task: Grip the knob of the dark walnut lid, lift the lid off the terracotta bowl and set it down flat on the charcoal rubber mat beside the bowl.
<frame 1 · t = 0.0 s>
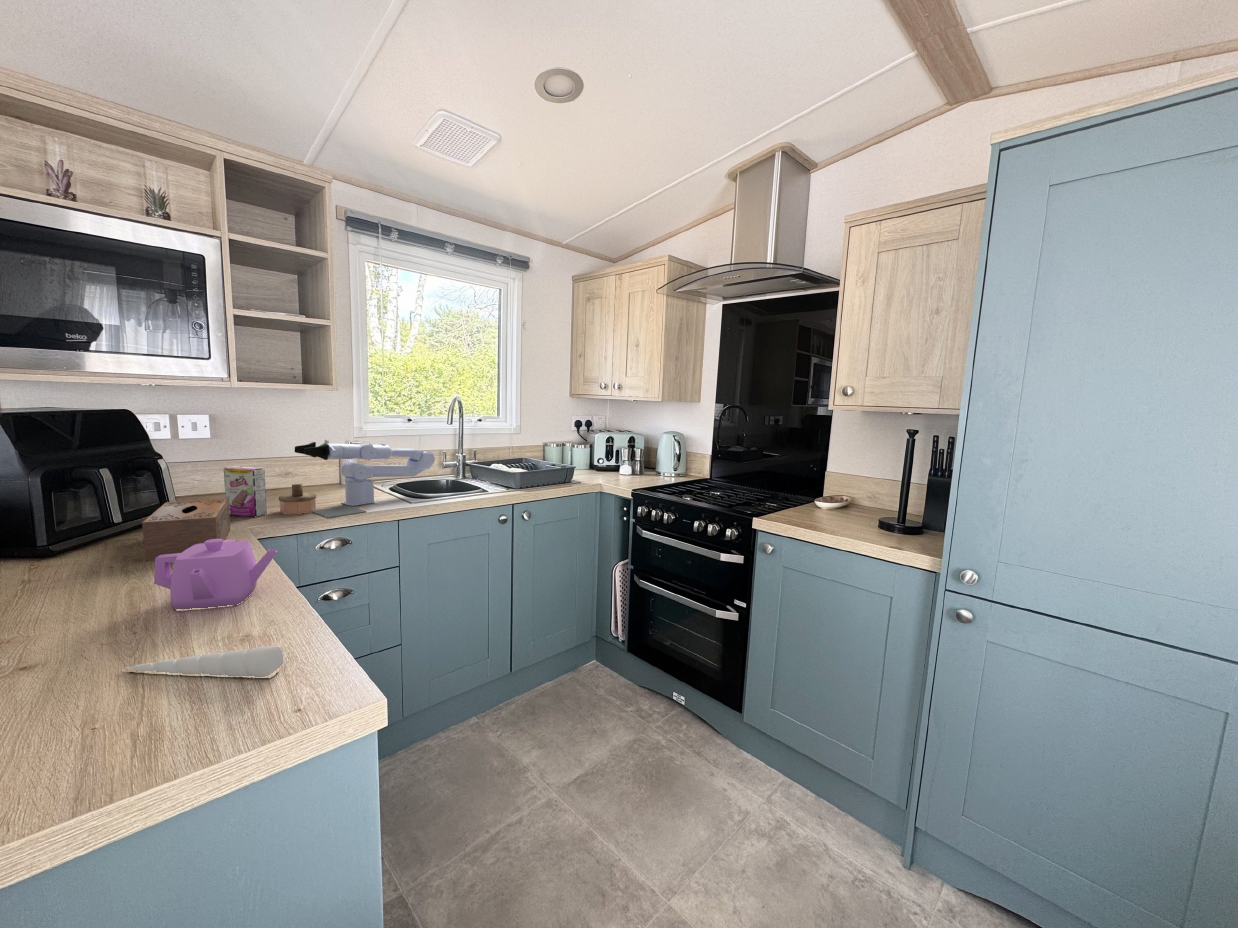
hand: (299, 450, 182), 22 cm above the worktop, tool horizontal, fingers open, 7 cm apart
mat: (339, 512, 185), on the worktop
lid: (297, 498, 184), point 4 cm above the worktop, touching bowl
bowl: (298, 511, 184), on the worktop
unicorn horn: (203, 677, 80), on the worktop
teakettle: (220, 598, 108), on the worktop
tissue box cover: (192, 545, 143), on the worktop
candy bar box: (246, 515, 176), on the worktop
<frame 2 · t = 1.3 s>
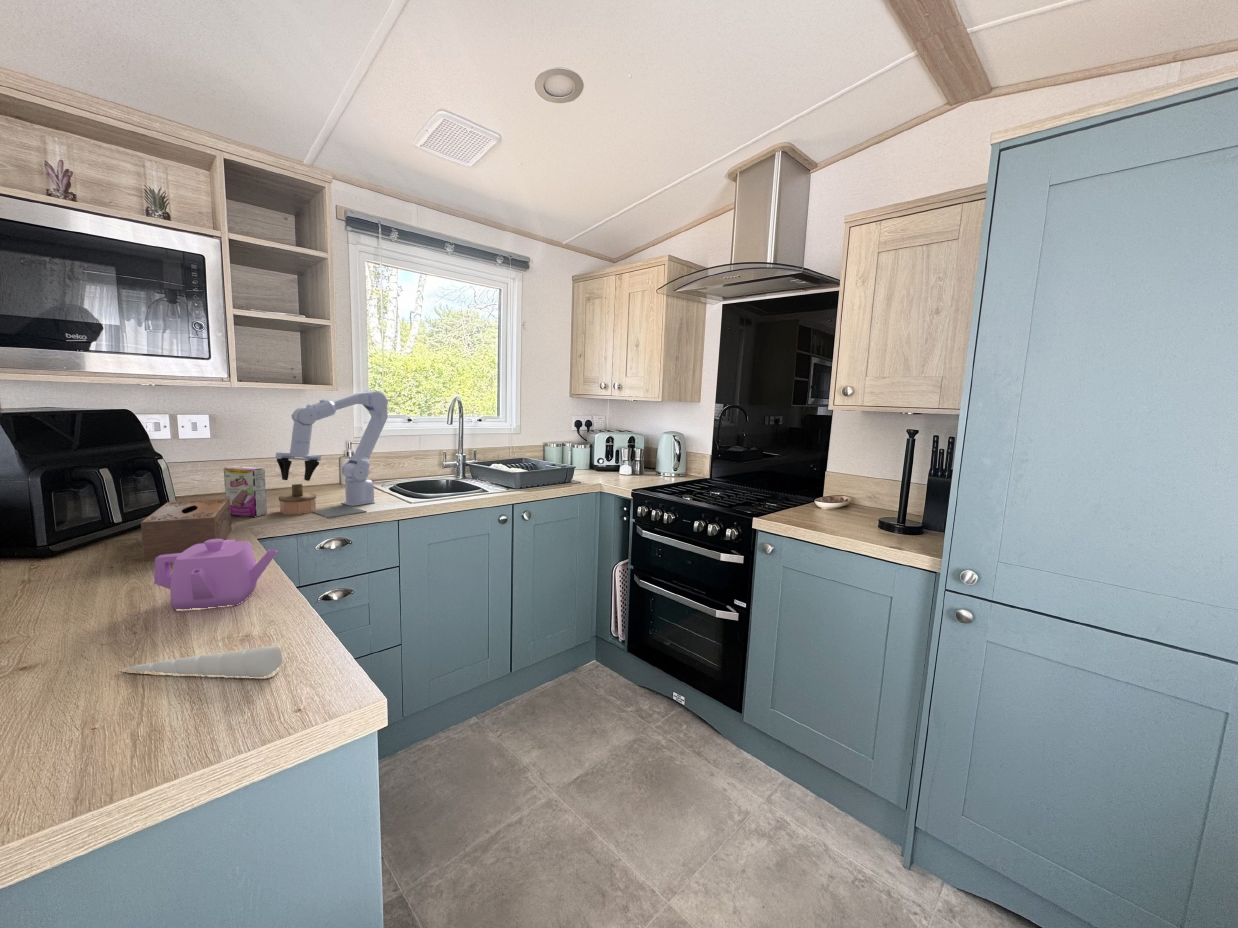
hand: (296, 480, 183), 11 cm above the worktop, tool pointing down, fingers open, 7 cm apart
nothing on the worktop moved.
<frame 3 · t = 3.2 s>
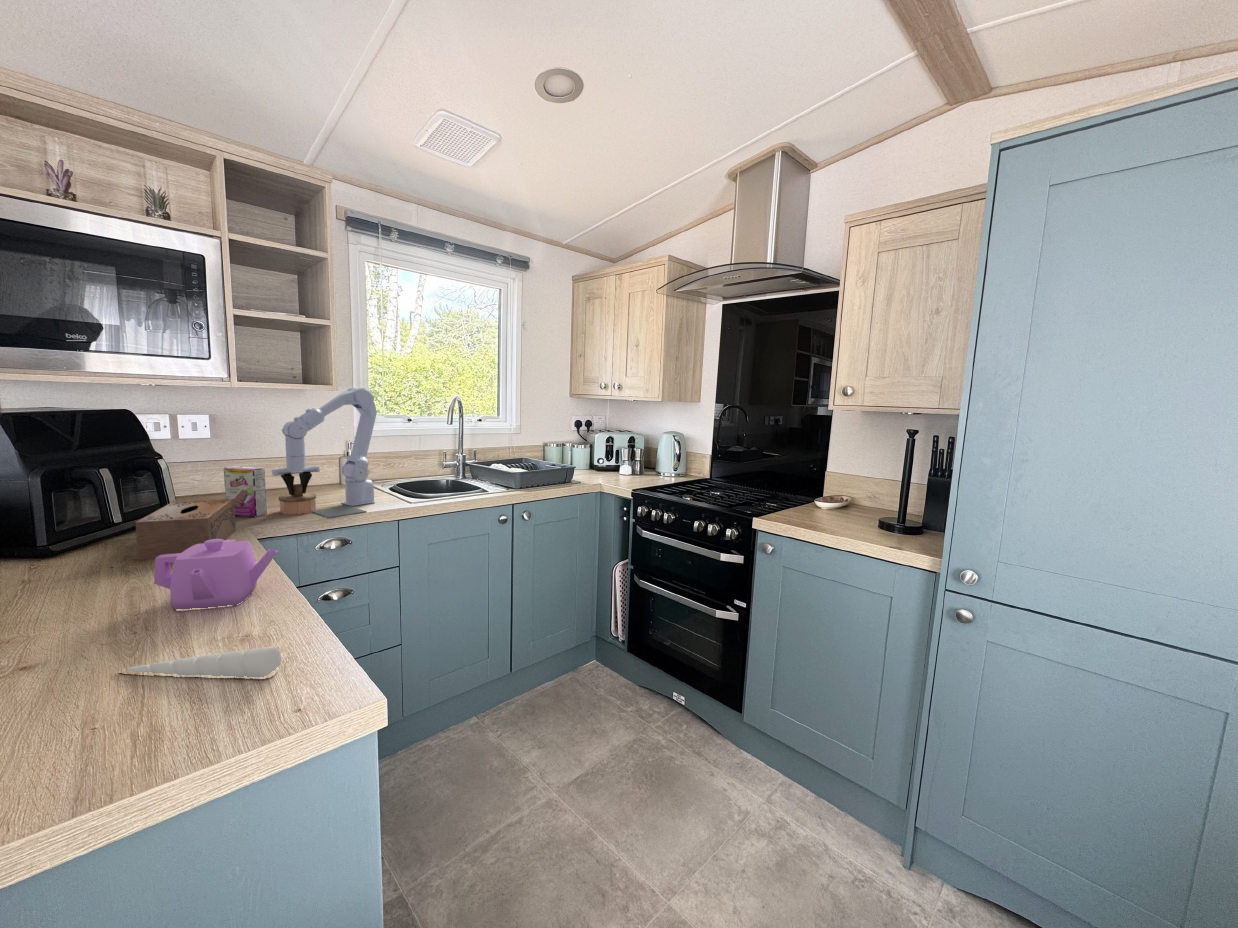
hand: (297, 493, 184), 6 cm above the worktop, tool pointing down, fingers closed on lid, 3 cm apart
lid: (297, 498, 184), point 4 cm above the worktop, touching bowl, gripper
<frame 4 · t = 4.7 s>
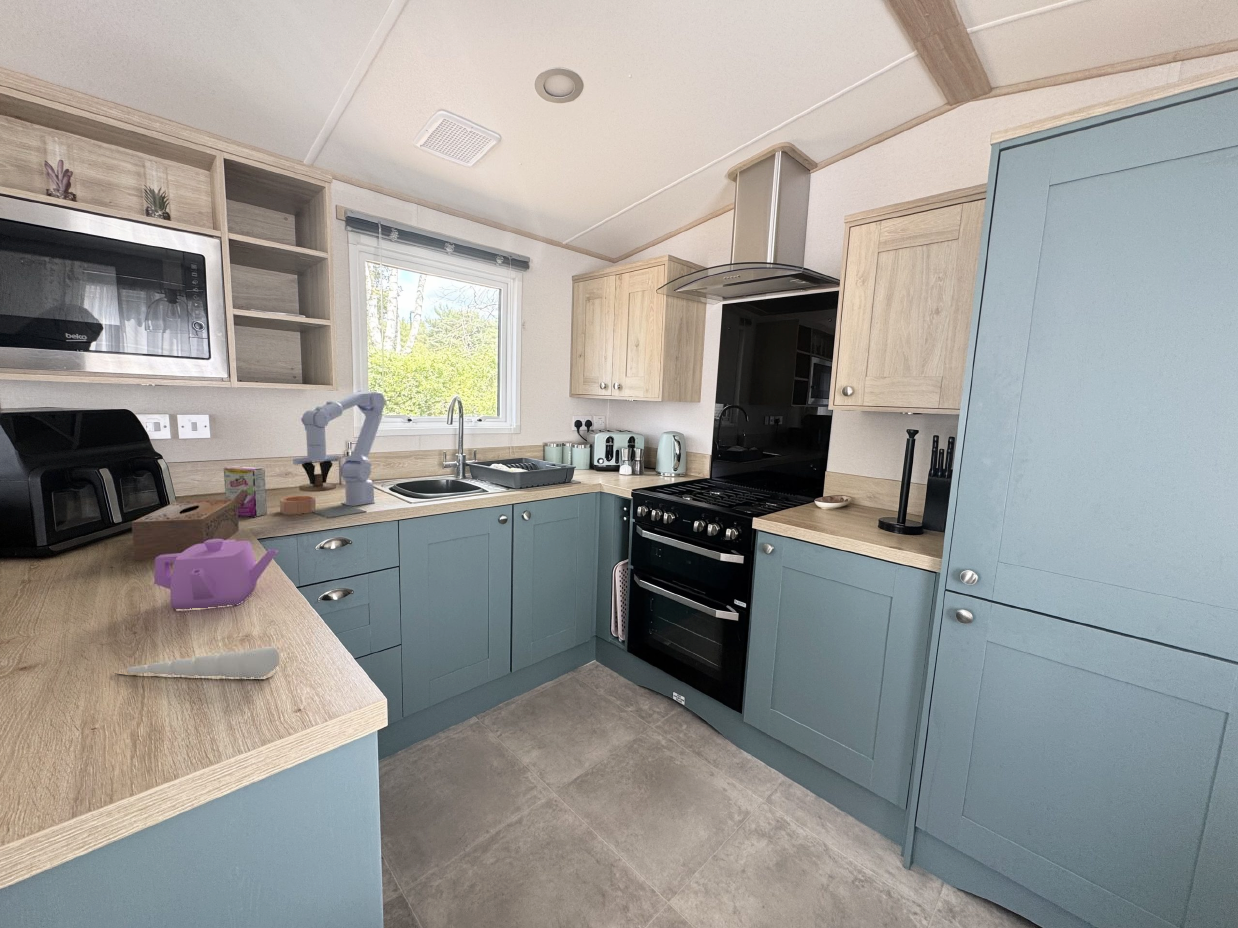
hand: (318, 483, 183), 10 cm above the worktop, tool pointing down, fingers closed on lid, 3 cm apart
lid: (318, 488, 183), point 8 cm above the worktop, touching gripper
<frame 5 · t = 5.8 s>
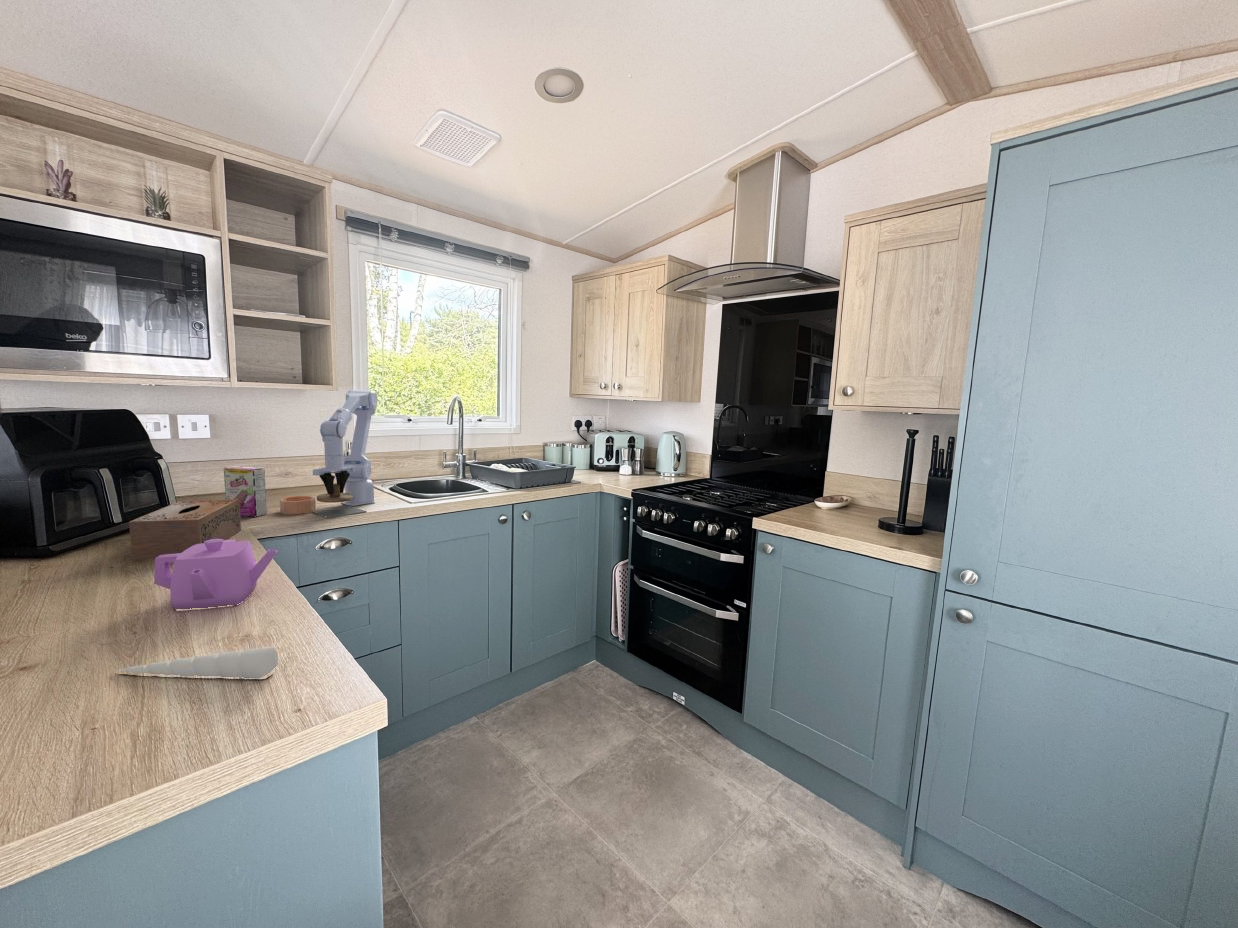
hand: (335, 493, 183), 7 cm above the worktop, tool pointing down, fingers closed on lid, 3 cm apart
lid: (335, 498, 184), point 5 cm above the worktop, touching gripper
when the fingers open (4 cm above the worktop, at t = 7.1 s): lid drops 1 cm, resting on mat.
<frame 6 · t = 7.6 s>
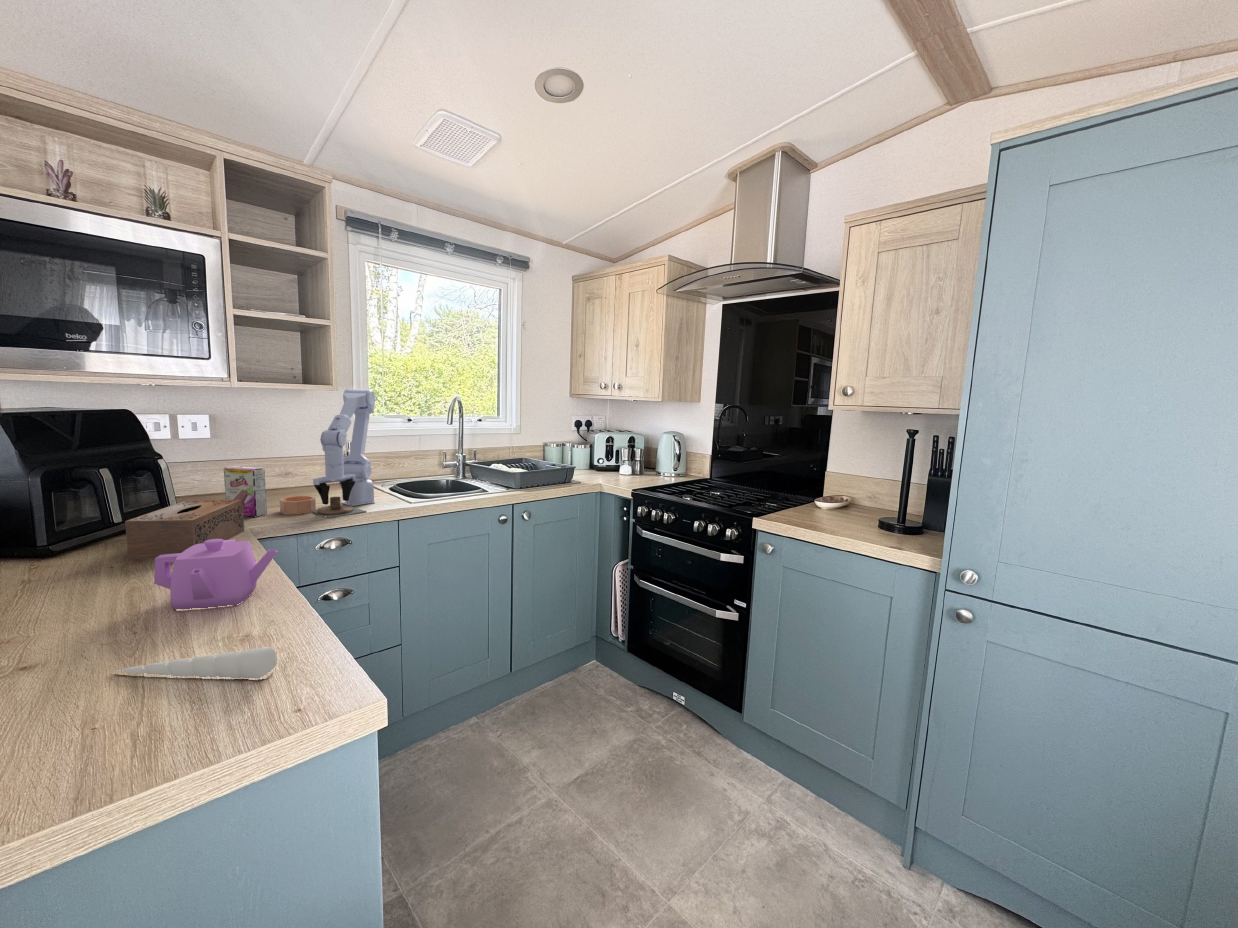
hand: (335, 502, 184), 4 cm above the worktop, tool pointing down, fingers open, 7 cm apart
lid: (335, 511, 184), resting on mat
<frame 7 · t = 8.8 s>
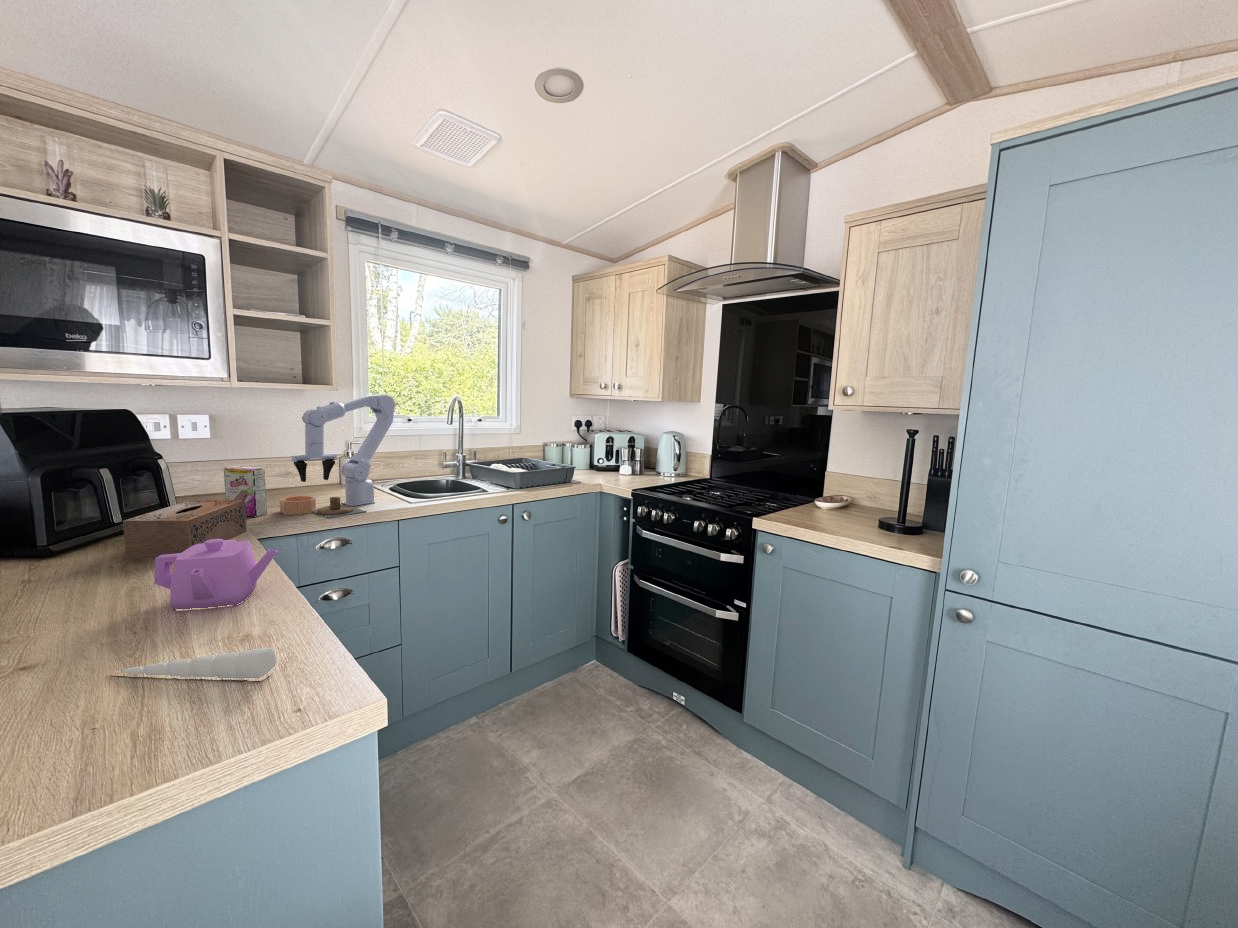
hand: (314, 480, 187), 10 cm above the worktop, tool pointing down, fingers open, 7 cm apart
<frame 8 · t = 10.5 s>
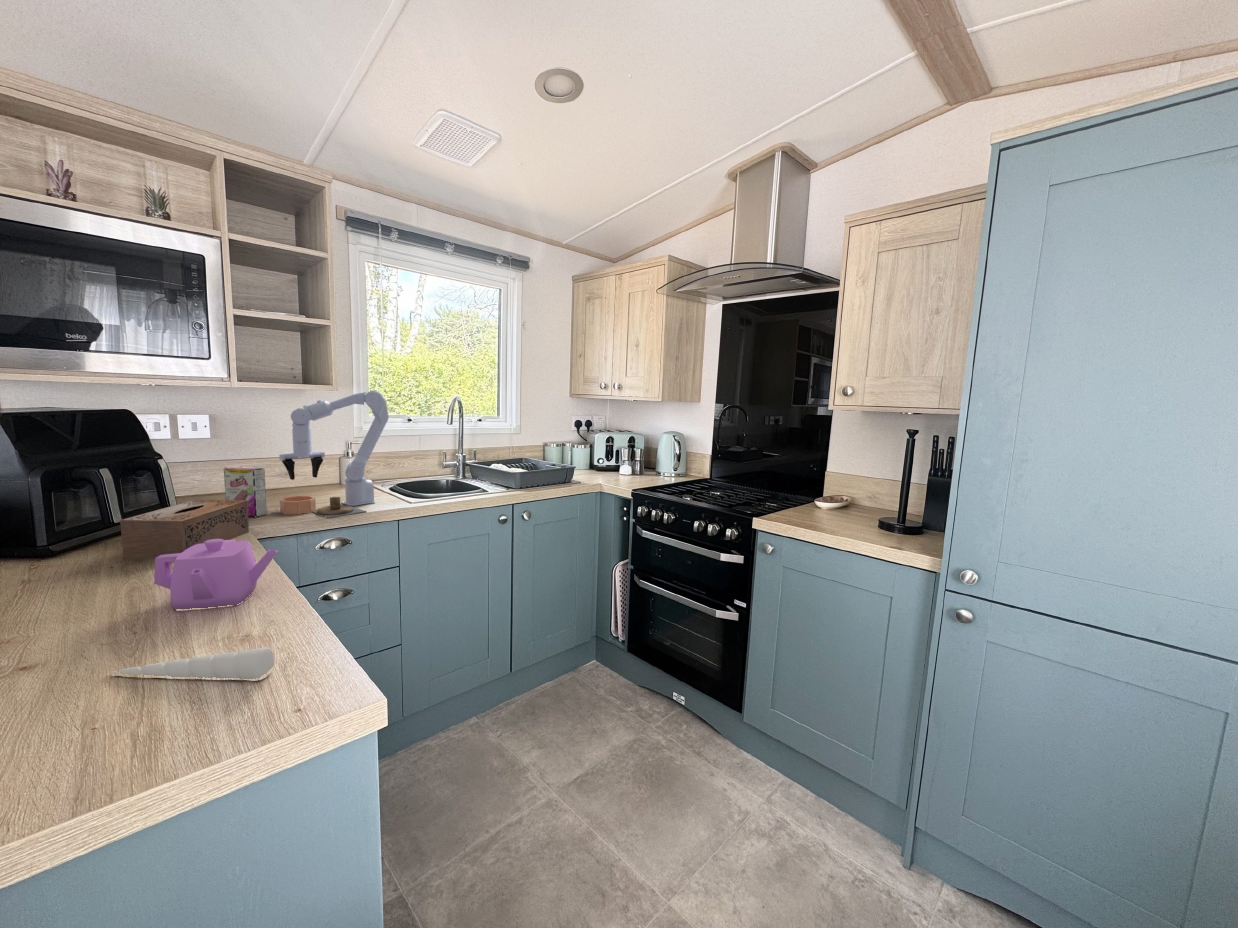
hand: (303, 478, 191), 10 cm above the worktop, tool pointing down, fingers open, 7 cm apart
at the end: lid inside the target area on the mat (1.1 cm from its centre), point 0.4 cm above the mat's base; lid touching mat; the gripper is holding nothing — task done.
